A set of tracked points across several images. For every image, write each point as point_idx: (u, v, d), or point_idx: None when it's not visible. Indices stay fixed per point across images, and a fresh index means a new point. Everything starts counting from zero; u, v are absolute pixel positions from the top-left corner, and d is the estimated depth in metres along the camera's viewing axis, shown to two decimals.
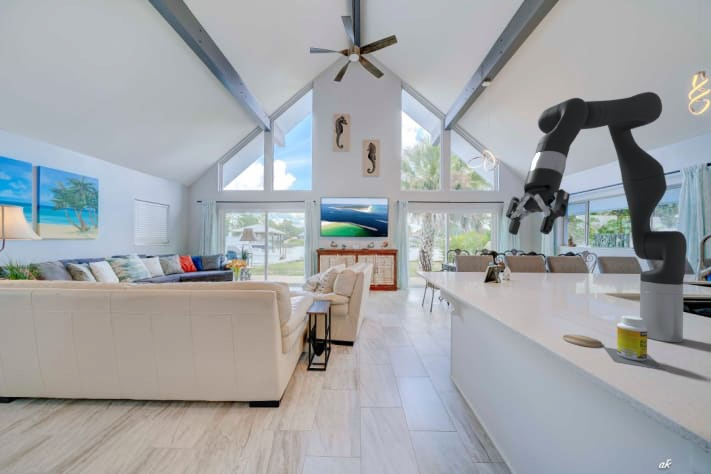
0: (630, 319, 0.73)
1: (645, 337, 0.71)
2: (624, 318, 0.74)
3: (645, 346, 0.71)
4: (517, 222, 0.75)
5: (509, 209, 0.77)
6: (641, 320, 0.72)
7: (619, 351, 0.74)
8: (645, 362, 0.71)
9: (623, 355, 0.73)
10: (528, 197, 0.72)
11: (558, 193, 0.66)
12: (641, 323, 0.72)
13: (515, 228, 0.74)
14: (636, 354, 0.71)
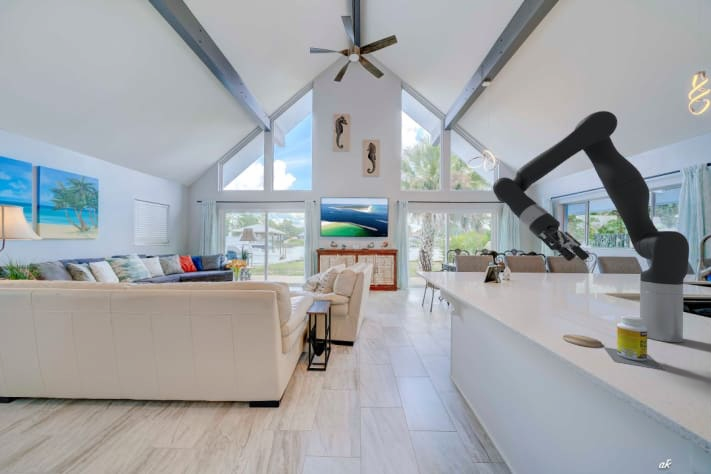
0: (630, 319, 0.73)
1: (645, 337, 0.71)
2: (624, 318, 0.74)
3: (645, 346, 0.71)
4: (577, 250, 0.88)
5: None
6: (641, 320, 0.72)
7: (619, 351, 0.74)
8: (645, 362, 0.71)
9: (623, 355, 0.73)
10: None
11: None
12: (641, 323, 0.72)
13: (582, 255, 0.87)
14: (636, 354, 0.71)
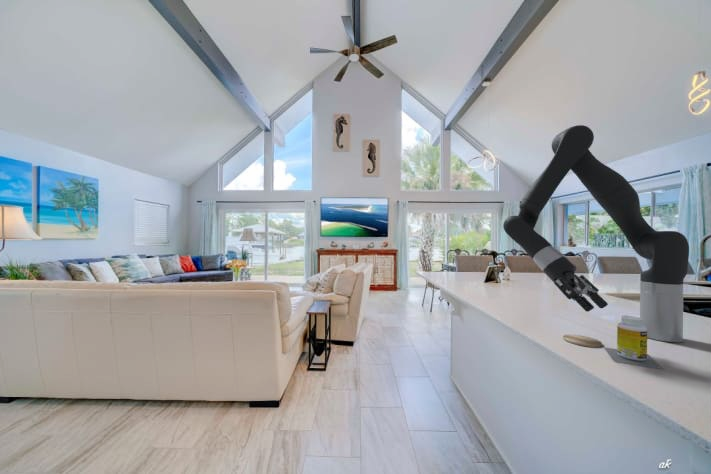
0: (630, 319, 0.73)
1: (645, 337, 0.71)
2: (624, 317, 0.74)
3: (645, 346, 0.71)
4: (594, 297, 0.84)
5: None
6: (641, 320, 0.72)
7: (619, 351, 0.74)
8: (645, 362, 0.71)
9: (623, 355, 0.73)
10: None
11: None
12: (641, 323, 0.72)
13: (600, 302, 0.83)
14: (636, 354, 0.71)
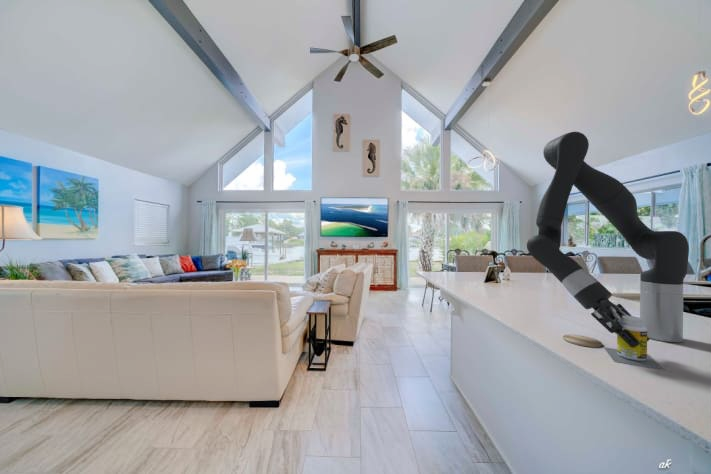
0: (630, 319, 0.73)
1: (645, 337, 0.71)
2: (624, 318, 0.74)
3: (645, 346, 0.71)
4: None
5: None
6: (641, 320, 0.72)
7: (619, 351, 0.74)
8: (645, 362, 0.71)
9: (623, 355, 0.73)
10: None
11: None
12: (641, 323, 0.72)
13: None
14: (637, 354, 0.71)
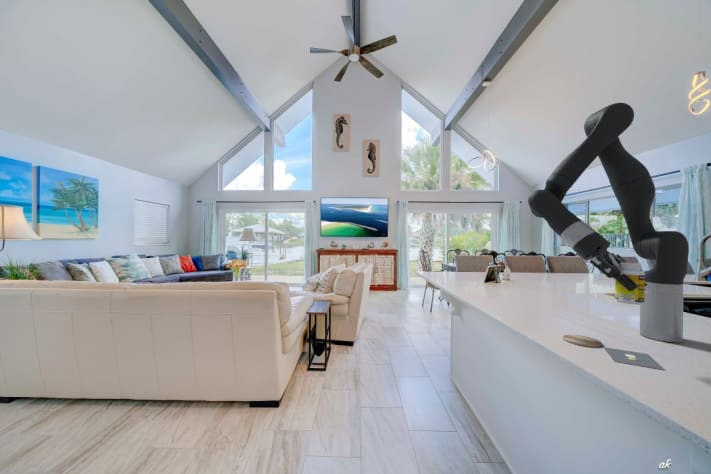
0: (628, 264, 0.73)
1: (643, 281, 0.72)
2: (622, 263, 0.74)
3: (643, 290, 0.72)
4: None
5: None
6: (639, 264, 0.72)
7: (617, 297, 0.75)
8: (645, 362, 0.71)
9: (621, 300, 0.74)
10: None
11: (593, 263, 0.76)
12: (639, 267, 0.72)
13: None
14: (634, 298, 0.72)
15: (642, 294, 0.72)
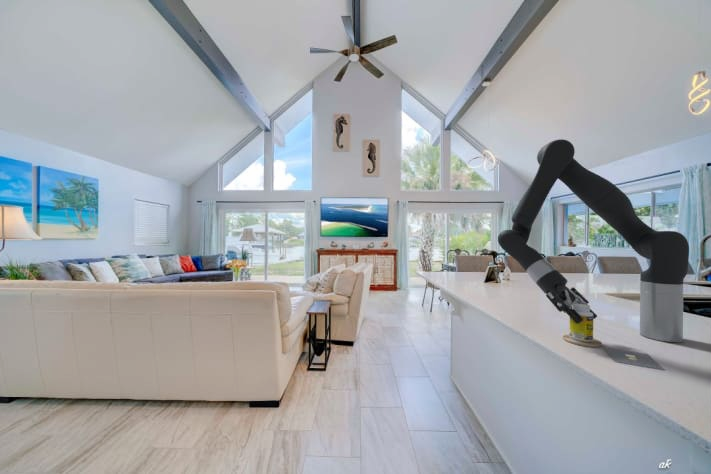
0: (579, 306, 0.84)
1: (591, 321, 0.83)
2: (574, 305, 0.86)
3: (591, 329, 0.83)
4: None
5: None
6: (588, 307, 0.84)
7: (570, 334, 0.86)
8: (645, 362, 0.71)
9: (573, 337, 0.85)
10: None
11: None
12: (588, 309, 0.84)
13: None
14: (584, 336, 0.83)
15: (590, 333, 0.83)
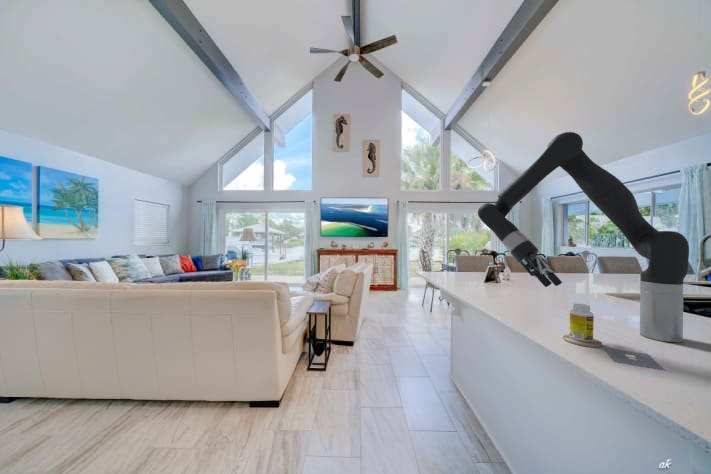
0: (579, 306, 0.84)
1: (591, 321, 0.83)
2: (574, 305, 0.86)
3: (591, 329, 0.83)
4: (551, 276, 0.96)
5: None
6: (588, 307, 0.84)
7: (570, 334, 0.86)
8: (645, 362, 0.71)
9: (573, 337, 0.85)
10: None
11: None
12: (588, 309, 0.84)
13: (555, 281, 0.95)
14: (584, 336, 0.83)
15: (590, 333, 0.83)
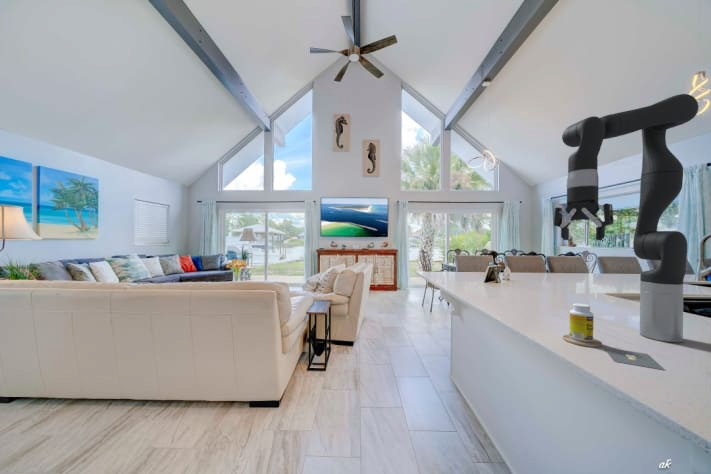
0: (579, 306, 0.84)
1: (591, 321, 0.83)
2: (574, 305, 0.86)
3: (591, 329, 0.83)
4: (567, 229, 0.90)
5: (556, 219, 0.92)
6: (588, 307, 0.84)
7: (570, 334, 0.86)
8: (645, 362, 0.71)
9: (573, 337, 0.85)
10: (575, 210, 0.87)
11: (604, 207, 0.81)
12: (588, 309, 0.84)
13: (567, 235, 0.90)
14: (584, 336, 0.83)
15: (590, 333, 0.83)
